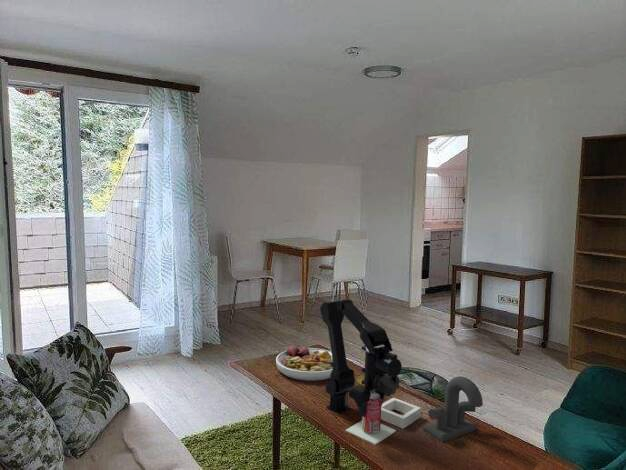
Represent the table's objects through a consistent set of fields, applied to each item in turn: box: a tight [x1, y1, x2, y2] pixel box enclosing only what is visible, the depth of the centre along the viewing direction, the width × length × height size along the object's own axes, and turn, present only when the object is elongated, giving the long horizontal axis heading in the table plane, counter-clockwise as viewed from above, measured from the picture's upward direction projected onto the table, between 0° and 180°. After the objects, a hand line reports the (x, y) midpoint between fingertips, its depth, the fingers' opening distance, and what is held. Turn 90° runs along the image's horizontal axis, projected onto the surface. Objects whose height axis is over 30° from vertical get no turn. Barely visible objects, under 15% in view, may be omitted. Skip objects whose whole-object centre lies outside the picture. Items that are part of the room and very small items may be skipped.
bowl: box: [275, 345, 333, 382], centre depth 209 cm, size 30×30×8 cm
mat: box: [345, 420, 397, 446], centre depth 156 cm, size 12×12×1 cm
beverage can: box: [361, 391, 382, 433], centre depth 156 cm, size 6×6×12 cm
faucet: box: [422, 376, 484, 443], centre depth 155 cm, size 18×16×20 cm
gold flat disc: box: [356, 375, 375, 392], centre depth 194 cm, size 12×12×2 cm
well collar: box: [381, 397, 422, 429], centre depth 167 cm, size 12×12×4 cm
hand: (371, 411), depth 156 cm, fingers open, 9 cm apart
